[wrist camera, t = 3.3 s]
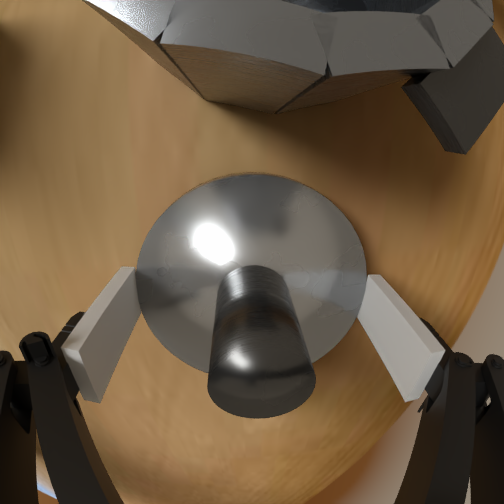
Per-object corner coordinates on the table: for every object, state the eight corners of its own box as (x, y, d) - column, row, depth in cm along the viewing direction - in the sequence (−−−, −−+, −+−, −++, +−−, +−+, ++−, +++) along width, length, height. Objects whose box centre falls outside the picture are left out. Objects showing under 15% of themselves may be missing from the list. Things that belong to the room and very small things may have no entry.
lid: (255, 380, 20) (263, 479, 12) (112, 282, 16) (48, 374, 9) (387, 269, 17) (462, 350, 9) (245, 121, 13) (255, 97, 6)
